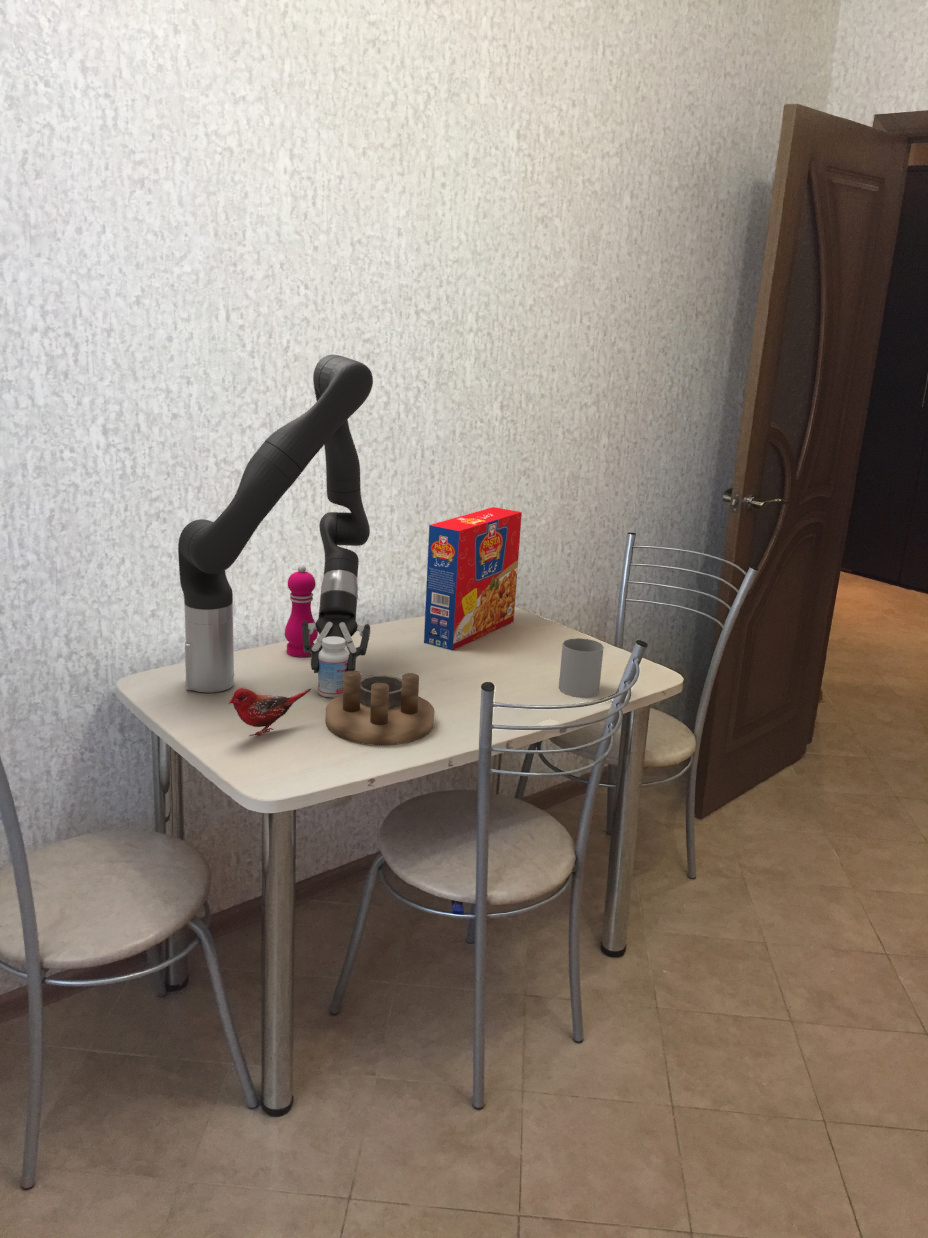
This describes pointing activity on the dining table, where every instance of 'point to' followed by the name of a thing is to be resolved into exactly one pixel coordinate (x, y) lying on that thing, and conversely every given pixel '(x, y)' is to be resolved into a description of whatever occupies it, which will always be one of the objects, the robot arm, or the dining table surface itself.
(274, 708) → the decorative bird figurine
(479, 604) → the pasta box
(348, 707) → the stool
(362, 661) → the dining table surface
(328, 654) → the pill bottle
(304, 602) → the pepper mill
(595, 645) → the cup
